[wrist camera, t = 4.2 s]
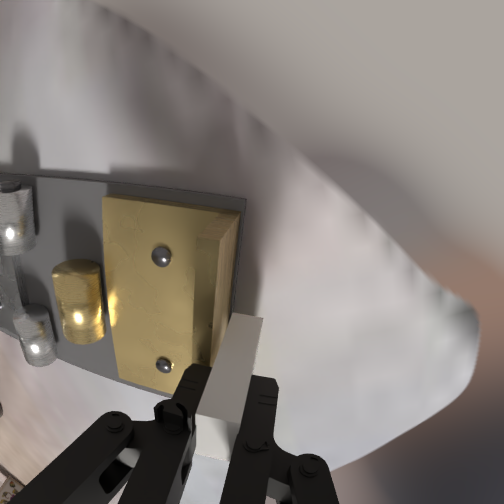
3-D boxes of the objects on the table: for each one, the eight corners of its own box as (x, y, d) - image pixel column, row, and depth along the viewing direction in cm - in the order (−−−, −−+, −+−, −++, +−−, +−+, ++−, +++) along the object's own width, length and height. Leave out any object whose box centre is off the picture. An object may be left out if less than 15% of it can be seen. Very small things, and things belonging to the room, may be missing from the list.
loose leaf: (88, 358, 20) (59, 393, 16) (67, 188, 15) (17, 207, 12) (220, 396, 19) (205, 444, 15) (241, 211, 15) (219, 240, 11)
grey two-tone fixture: (-21, 315, 22) (-23, 317, 22) (-47, 171, 17) (-51, 172, 17) (222, 406, 20) (220, 410, 20) (246, 199, 15) (244, 201, 14)
